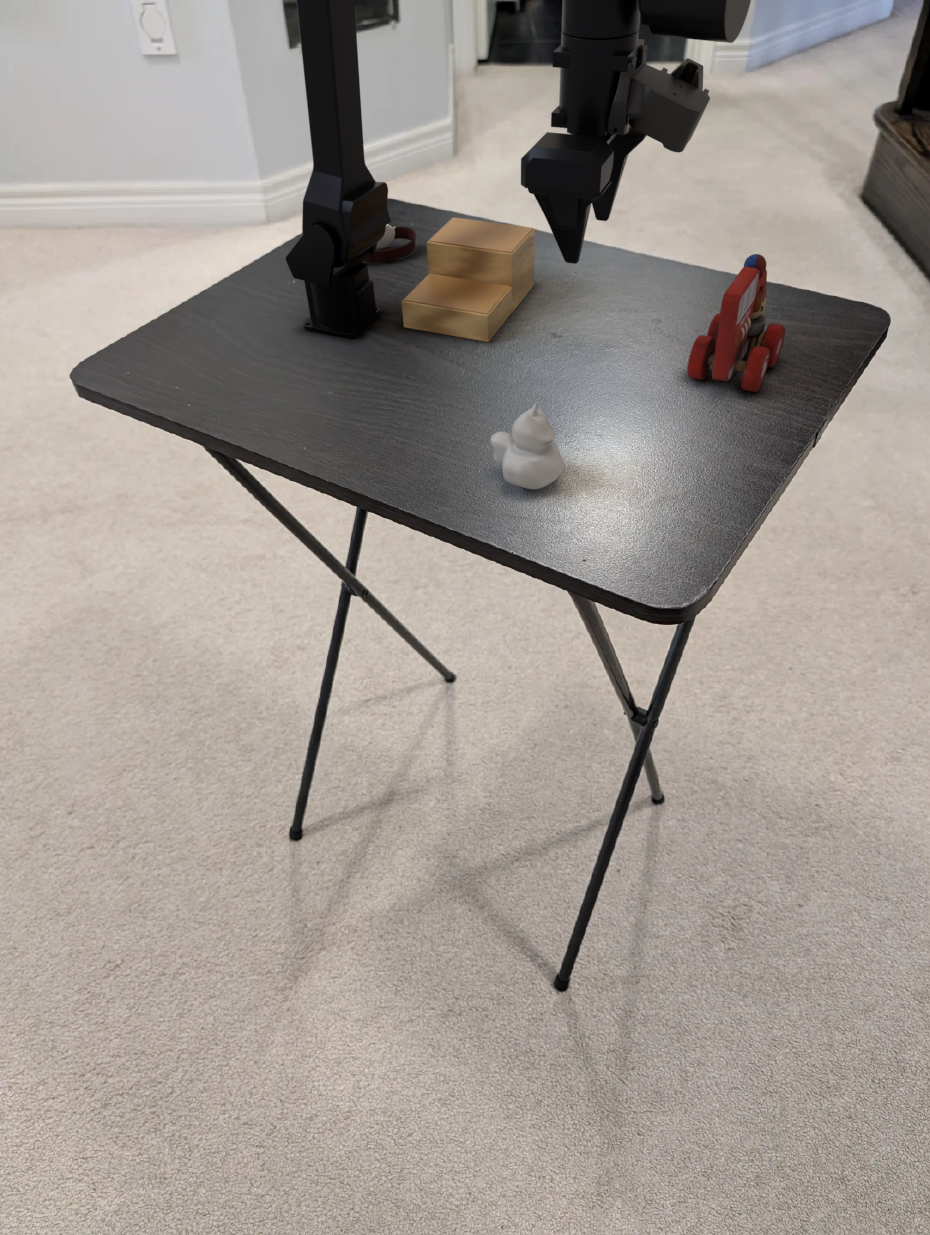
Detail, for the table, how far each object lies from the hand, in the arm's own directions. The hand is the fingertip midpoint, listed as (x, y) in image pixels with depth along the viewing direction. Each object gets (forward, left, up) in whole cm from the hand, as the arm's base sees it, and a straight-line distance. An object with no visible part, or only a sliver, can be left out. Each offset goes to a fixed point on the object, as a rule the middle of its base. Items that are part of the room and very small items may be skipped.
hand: (587, 240), depth 77 cm
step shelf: (-17, +12, -14) cm, 25 cm away
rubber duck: (0, -16, -14) cm, 22 cm away
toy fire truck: (+13, +8, -14) cm, 21 cm away
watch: (-32, +21, -14) cm, 40 cm away
